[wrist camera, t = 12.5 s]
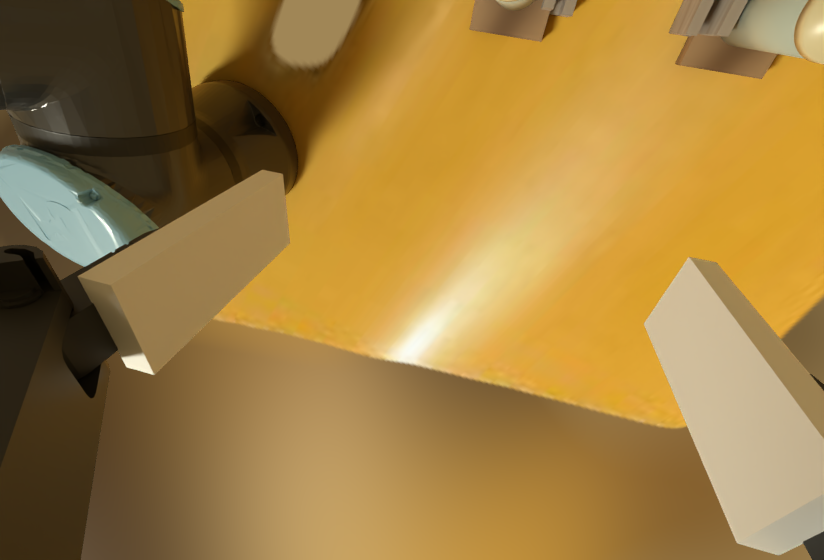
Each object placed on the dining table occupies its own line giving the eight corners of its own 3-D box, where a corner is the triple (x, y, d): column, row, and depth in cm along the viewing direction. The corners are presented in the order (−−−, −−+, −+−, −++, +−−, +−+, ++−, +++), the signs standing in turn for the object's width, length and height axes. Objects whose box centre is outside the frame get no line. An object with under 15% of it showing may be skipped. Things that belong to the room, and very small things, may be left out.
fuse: (702, 39, 29) (781, 52, 20) (746, -34, 26) (862, -59, 17) (760, 55, 29) (868, 76, 20) (811, -18, 26) (966, -35, 17)
